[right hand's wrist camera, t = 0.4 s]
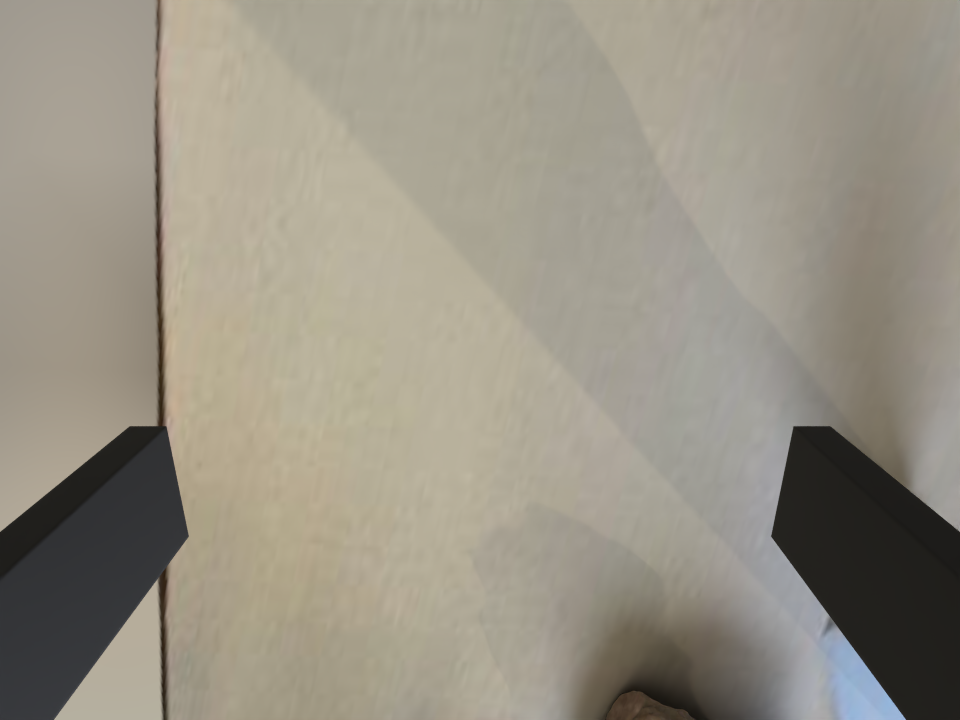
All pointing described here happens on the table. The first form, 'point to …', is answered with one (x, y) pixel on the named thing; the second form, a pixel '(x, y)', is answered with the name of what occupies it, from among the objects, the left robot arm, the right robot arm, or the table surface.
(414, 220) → the table surface
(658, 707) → the stone
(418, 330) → the table surface
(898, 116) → the table surface
